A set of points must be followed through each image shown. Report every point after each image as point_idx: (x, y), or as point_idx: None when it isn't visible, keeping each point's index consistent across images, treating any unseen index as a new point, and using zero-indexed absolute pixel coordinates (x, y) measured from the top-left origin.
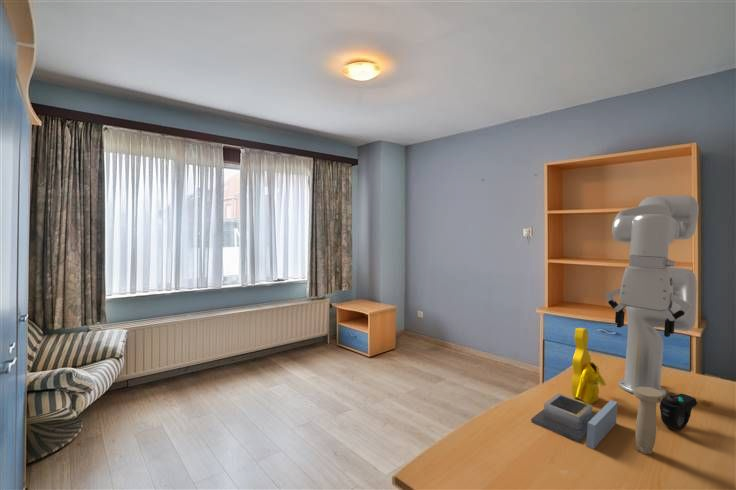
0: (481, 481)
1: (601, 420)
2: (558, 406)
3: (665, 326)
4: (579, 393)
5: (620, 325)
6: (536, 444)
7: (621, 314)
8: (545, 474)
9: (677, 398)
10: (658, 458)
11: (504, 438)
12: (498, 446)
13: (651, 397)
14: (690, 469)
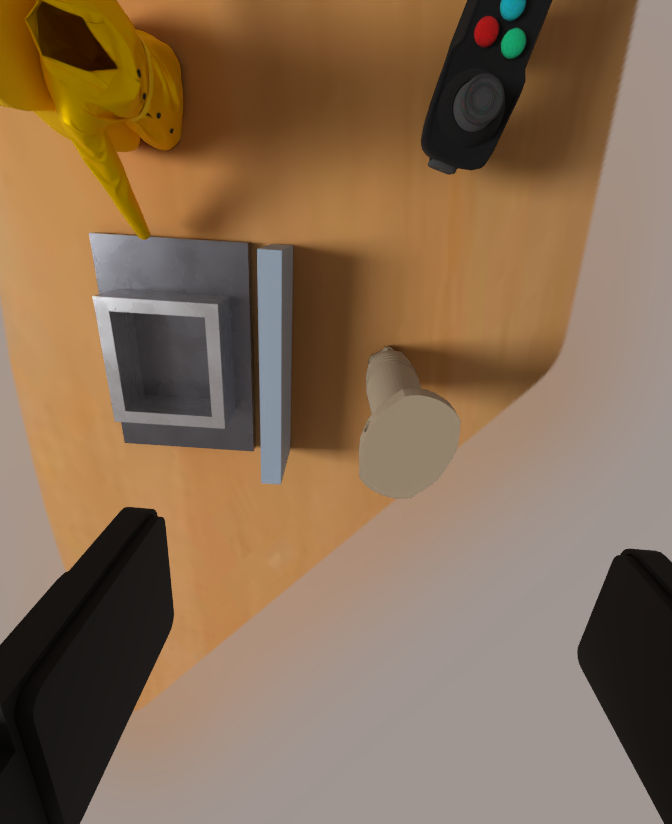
0: (196, 658)
1: (281, 429)
2: (130, 320)
3: (650, 779)
4: (139, 224)
5: (164, 638)
6: (195, 517)
7: (84, 800)
8: (255, 587)
9: (499, 12)
10: (419, 373)
11: None
12: None
13: (420, 488)
14: (485, 367)
